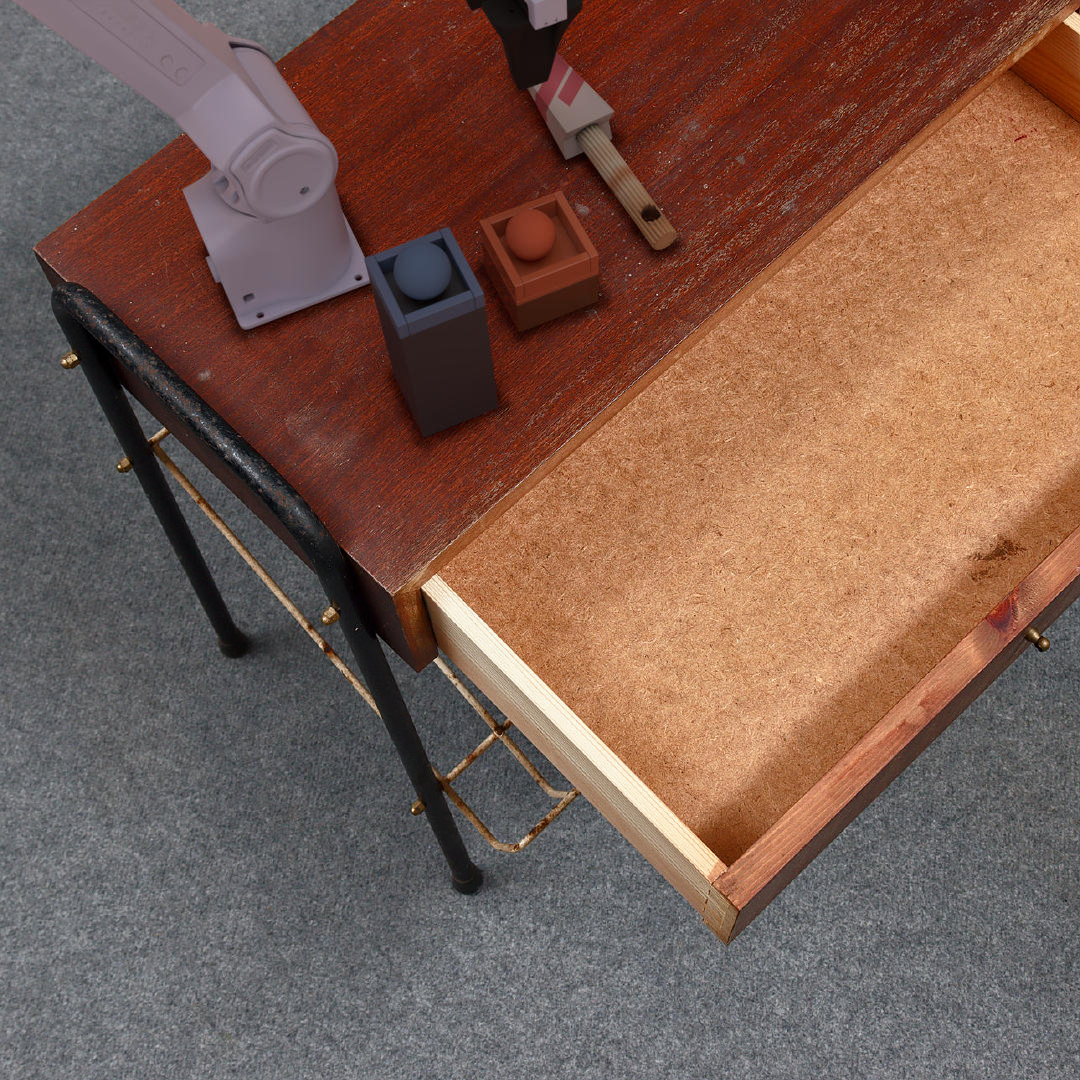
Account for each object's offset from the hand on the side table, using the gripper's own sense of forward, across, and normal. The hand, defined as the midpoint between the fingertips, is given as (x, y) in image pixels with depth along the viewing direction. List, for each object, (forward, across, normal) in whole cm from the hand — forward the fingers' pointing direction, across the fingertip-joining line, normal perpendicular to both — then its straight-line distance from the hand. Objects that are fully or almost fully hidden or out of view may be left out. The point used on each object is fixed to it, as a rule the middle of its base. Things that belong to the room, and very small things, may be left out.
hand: (507, 41), depth 81 cm
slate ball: (-2, -16, +12) cm, 20 cm away
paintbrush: (+11, -2, -5) cm, 12 cm away
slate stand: (+10, -16, +12) cm, 23 cm away
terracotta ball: (+5, -11, +3) cm, 12 cm away
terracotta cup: (+10, -11, +3) cm, 15 cm away
